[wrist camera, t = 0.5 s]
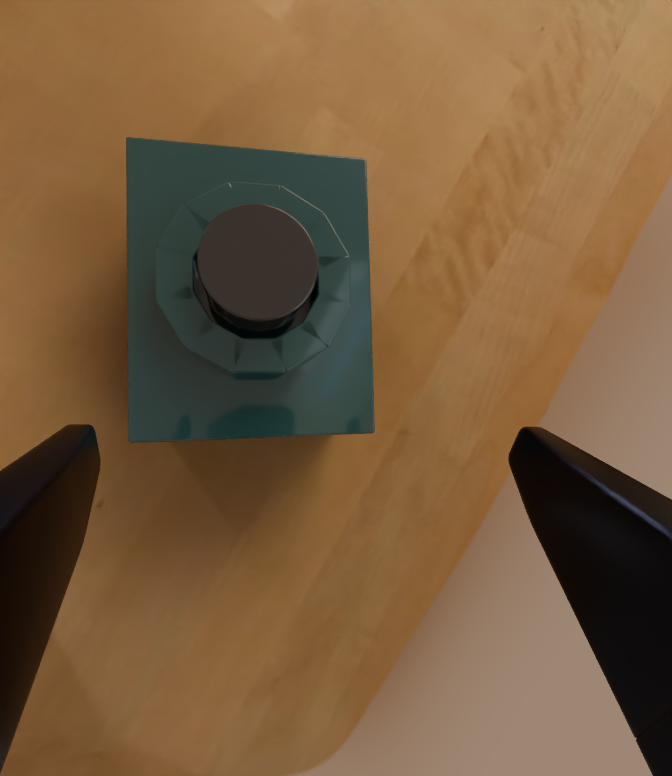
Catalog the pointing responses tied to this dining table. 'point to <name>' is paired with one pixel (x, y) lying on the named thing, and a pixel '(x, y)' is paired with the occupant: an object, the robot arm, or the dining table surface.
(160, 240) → the teal push button box
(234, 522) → the dining table surface
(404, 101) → the dining table surface
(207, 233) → the dark brown button
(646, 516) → the robot arm
